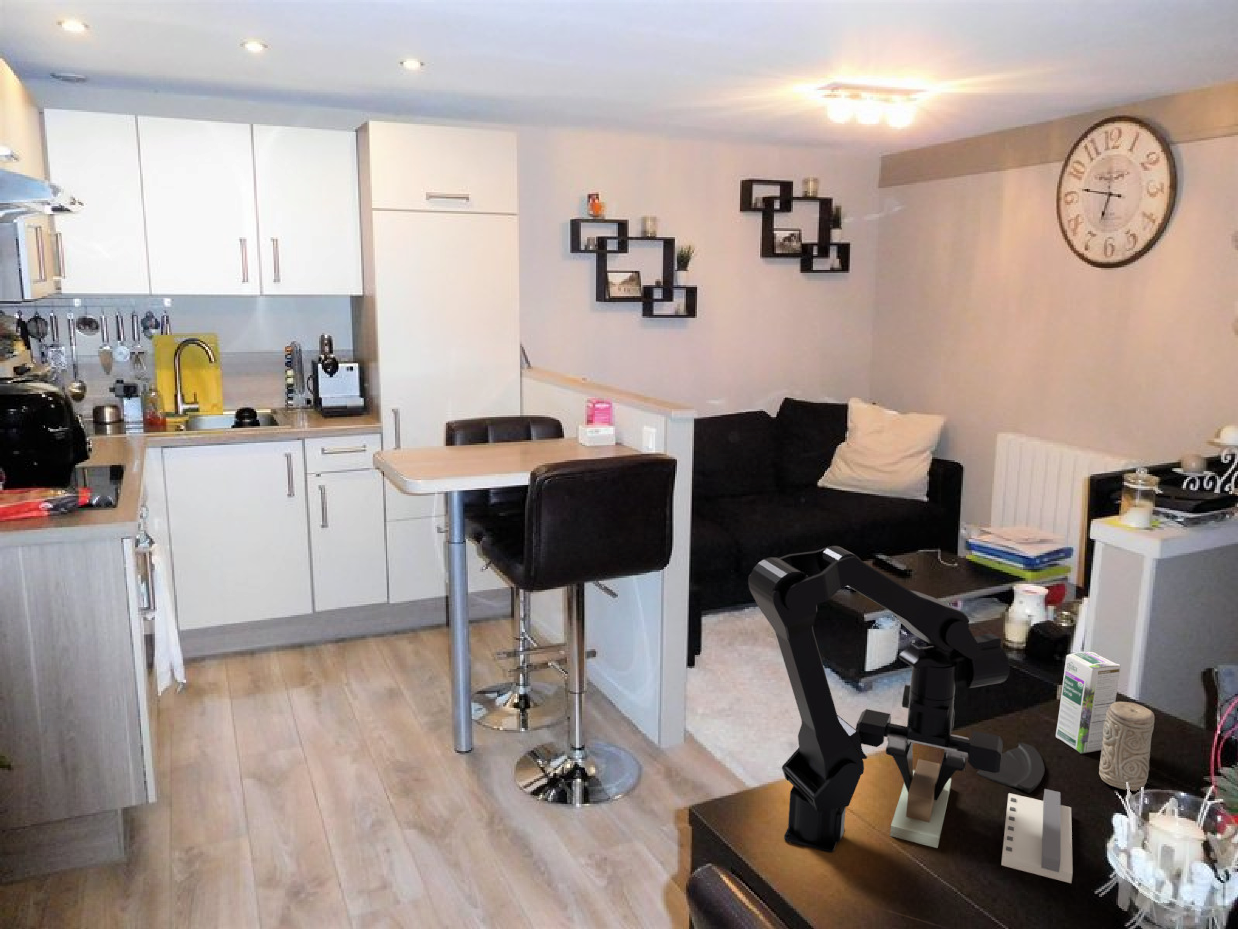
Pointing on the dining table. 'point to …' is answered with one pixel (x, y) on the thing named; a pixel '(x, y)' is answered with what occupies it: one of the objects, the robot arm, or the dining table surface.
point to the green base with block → (921, 807)
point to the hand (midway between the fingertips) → (922, 796)
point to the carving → (1126, 745)
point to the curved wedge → (1018, 768)
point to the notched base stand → (1038, 836)
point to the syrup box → (1086, 700)
